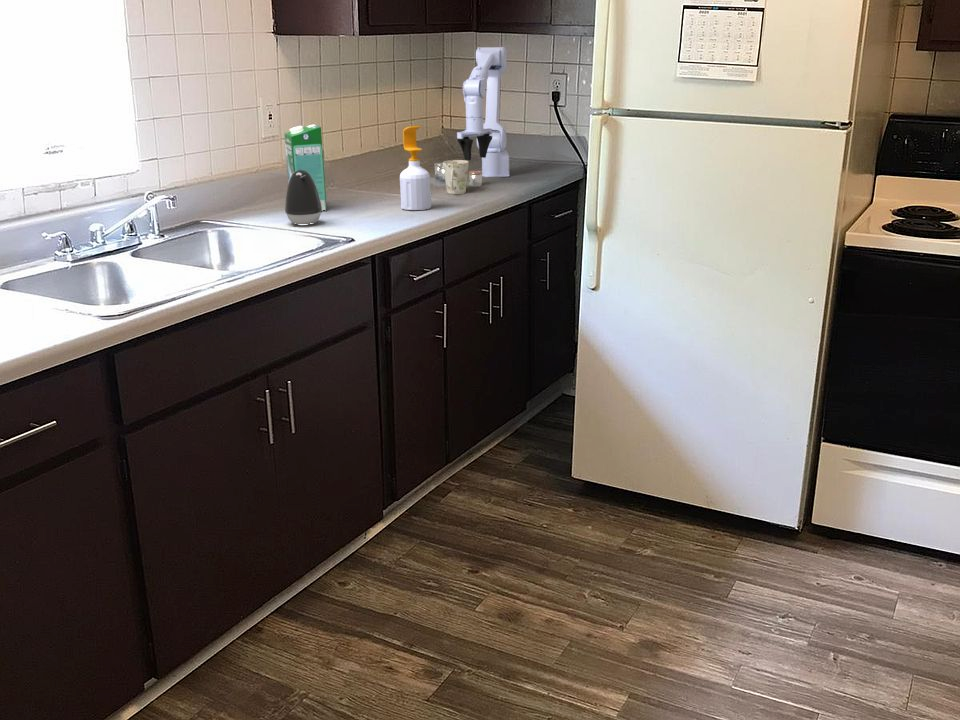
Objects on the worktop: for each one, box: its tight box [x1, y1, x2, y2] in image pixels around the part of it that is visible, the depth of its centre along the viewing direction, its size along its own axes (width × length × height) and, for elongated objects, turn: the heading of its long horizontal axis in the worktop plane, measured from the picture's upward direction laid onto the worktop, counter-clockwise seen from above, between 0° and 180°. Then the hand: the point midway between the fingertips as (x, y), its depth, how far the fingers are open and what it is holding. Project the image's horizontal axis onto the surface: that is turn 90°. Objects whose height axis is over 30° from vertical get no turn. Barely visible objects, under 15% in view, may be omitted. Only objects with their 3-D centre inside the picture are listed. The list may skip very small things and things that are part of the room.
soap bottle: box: [399, 125, 432, 211], centre depth 291 cm, size 9×9×25 cm
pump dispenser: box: [284, 170, 322, 224], centre depth 274 cm, size 10×10×15 cm
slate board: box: [430, 177, 469, 187], centre depth 338 cm, size 12×18×1 cm, turn 18°
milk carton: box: [284, 123, 328, 211], centre depth 291 cm, size 9×9×25 cm
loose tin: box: [468, 170, 483, 187], centre depth 328 cm, size 5×5×5 cm
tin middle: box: [439, 165, 446, 182], centre depth 338 cm, size 5×5×5 cm
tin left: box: [433, 162, 443, 179], centre depth 343 cm, size 5×5×5 cm
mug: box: [442, 159, 470, 195], centre depth 316 cm, size 8×13×10 cm, turn 174°
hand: (475, 158), depth 326 cm, fingers open, 7 cm apart
